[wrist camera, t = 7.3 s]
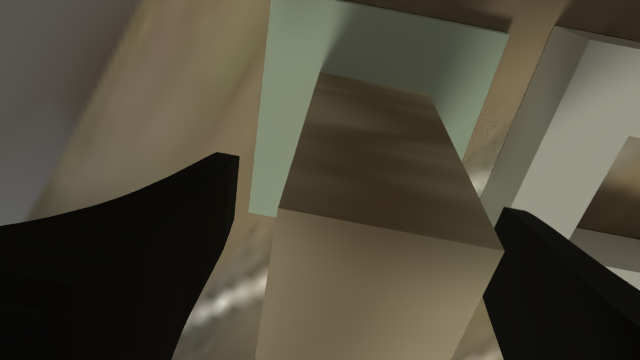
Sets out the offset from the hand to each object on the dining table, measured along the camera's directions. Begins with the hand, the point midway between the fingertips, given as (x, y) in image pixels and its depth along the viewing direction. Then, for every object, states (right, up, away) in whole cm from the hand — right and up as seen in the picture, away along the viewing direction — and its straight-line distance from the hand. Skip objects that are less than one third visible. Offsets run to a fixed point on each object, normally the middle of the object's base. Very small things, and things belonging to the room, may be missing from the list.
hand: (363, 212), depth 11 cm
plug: (0, +3, +5) cm, 5 cm away
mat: (0, +3, +5) cm, 6 cm away
